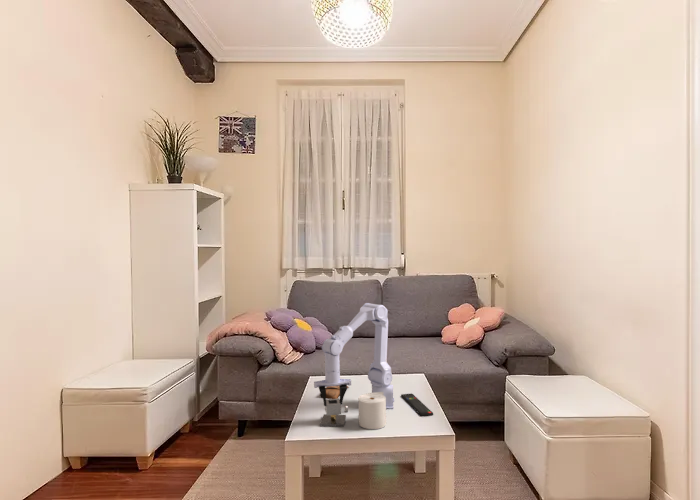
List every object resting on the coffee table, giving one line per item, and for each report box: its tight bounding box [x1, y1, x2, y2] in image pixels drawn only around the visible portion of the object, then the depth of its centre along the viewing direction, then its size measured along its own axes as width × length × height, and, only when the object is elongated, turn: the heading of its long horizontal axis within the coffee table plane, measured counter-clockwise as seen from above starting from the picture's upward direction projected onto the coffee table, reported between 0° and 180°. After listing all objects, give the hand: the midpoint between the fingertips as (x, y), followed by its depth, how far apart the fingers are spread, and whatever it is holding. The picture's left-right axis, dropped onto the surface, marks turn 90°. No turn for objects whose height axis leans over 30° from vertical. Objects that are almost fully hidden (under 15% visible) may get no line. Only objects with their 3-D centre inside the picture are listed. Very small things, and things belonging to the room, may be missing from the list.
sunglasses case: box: [319, 385, 350, 399], centre depth 199 cm, size 18×7×7 cm
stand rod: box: [343, 404, 349, 413], centre depth 175 cm, size 1×1×2 cm
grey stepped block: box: [324, 398, 342, 415], centre depth 166 cm, size 6×6×4 cm
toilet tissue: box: [358, 392, 387, 430], centre depth 164 cm, size 11×12×10 cm
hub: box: [319, 413, 347, 428], centre depth 166 cm, size 9×9×4 cm
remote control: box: [400, 393, 434, 418], centre depth 181 cm, size 5×24×1 cm, turn 13°
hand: (333, 404), depth 166 cm, fingers closed on grey stepped block, 6 cm apart
